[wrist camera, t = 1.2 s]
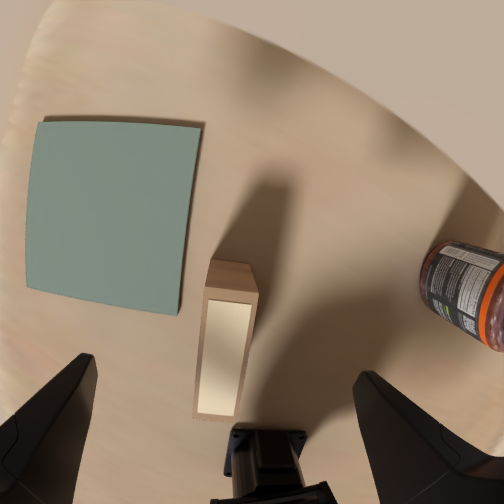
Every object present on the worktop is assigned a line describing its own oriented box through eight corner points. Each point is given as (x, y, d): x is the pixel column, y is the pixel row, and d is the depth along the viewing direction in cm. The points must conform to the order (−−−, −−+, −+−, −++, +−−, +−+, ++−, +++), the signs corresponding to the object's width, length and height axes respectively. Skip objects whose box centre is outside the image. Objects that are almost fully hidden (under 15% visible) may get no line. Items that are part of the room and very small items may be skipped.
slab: (233, 369, 22) (236, 423, 16) (198, 365, 21) (192, 419, 15) (249, 263, 20) (259, 293, 14) (210, 258, 20) (204, 286, 14)
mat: (178, 313, 20) (177, 316, 20) (29, 285, 19) (26, 287, 19) (201, 130, 18) (200, 128, 18) (41, 123, 17) (38, 122, 17)
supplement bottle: (477, 260, 22) (576, 297, 11) (445, 320, 23) (535, 381, 12) (439, 224, 21) (555, 252, 10) (403, 291, 22) (507, 358, 11)
